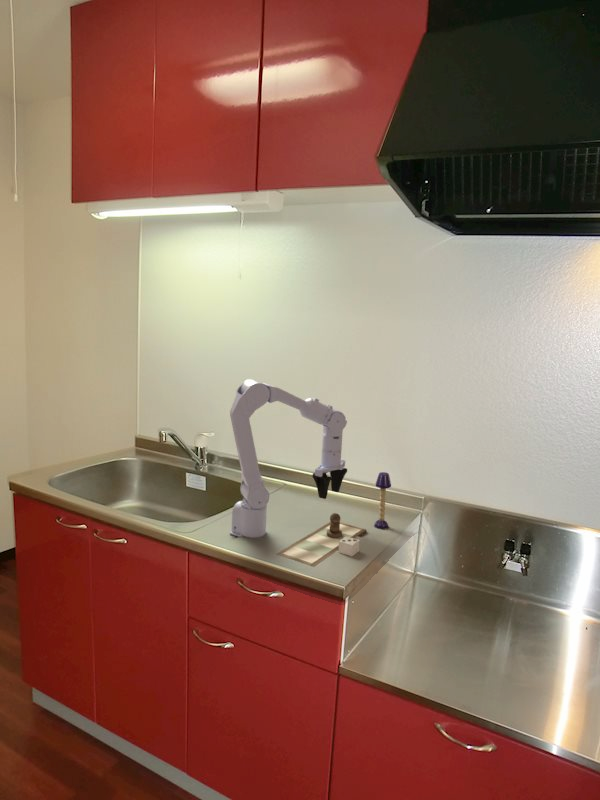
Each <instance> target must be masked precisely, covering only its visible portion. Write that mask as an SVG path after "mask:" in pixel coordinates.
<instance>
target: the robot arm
mask: <svg viewBox="0 0 600 800" xmlns="http://www.w3.org/2000/svg"><path fill="white" fill-rule="evenodd" d="M275 402H279V403H282V404H284V405H286V406H289V407H292V408H294V409H296V410H298V411H299V412H300V415H301V417H303V418H305V419H307V420H310V421H312V422H315V423H317V424H318V425H322V426H323V427H322V441H321V443H322V444H321V459H320V460H321V461H320V463H319V465H318V467H316V468H315V469H314V472H313V473H312V478H313V480H314V482H315V485H316V490H317V493H318V498H320V499H324V500H326V499H327V497H328V491H329V486H330V485H331V486H330V488H331V489H330V490H331V491H332V492H334V493H335V492H336V493H339V492H340V489H341V487H342V486H341V485H342V482H343V480H344V478H345V476H346V474H347V473H348V468H346V460H345V459H342V448H343V447H342V445H343V430H344V429H345V428H346V426H347V423H348V421H347V420H346V415H345V414H344V413H343V412H342V411H340V410H337V409H335V408H333V406H332V405H330V404H328V405H326V404H324V403H322V402H320V399H318V398H316V397H313V398H311V397H308V398H306V399H302V398H301V397H298V396H296V395H294V394H292V393H290V392H288V391H286V390H284V389H282V388H279V387H277V386H275V385H272V384H269V383H265V382H262V381H260V382H259V381H258V380H256V379H253V378H248V379H246V380H244V381H242V383H241V384H239V387H237V389H236V392H235V397H234V399H233V403H232V405H231V407H230V410H229V417H230V422H231V427H232V431H233V436H234V442H235V444H236V445H235V446H236V451H237V456H238V461H239V465H240V471H241V475H240V479H241V482H240V483H241V484H240V488H239V489H240V494H241V495H242V497H243V498H242V500H239V501H236V503H235V504H234V505H233V507H232V511H231V531H230V532H229V534H230V535H232V536H235V537H238V538H240V537H242V536H244V537H247V538H252V539H253V538H261V537H264V535H266V534H267V533H266V532H267V531H266V530H267V509H268V508H267V507H268V503H269V500H270V493H269V491H268V489H267V488H266V486H265V483H264V480H263V478H262V475H261V472H260V467H259V461H258V458H257V451H256V448H255V443H254V436H253V432H252V425H251V419H250V418H251V416H252V415H254V413H255V412H256V411H257V410H258V409H260V408H261V407H263V406H264V405H266V403H269V404H271V403H275ZM327 473H329V475H330V476H329V475H327Z"/></svg>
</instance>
